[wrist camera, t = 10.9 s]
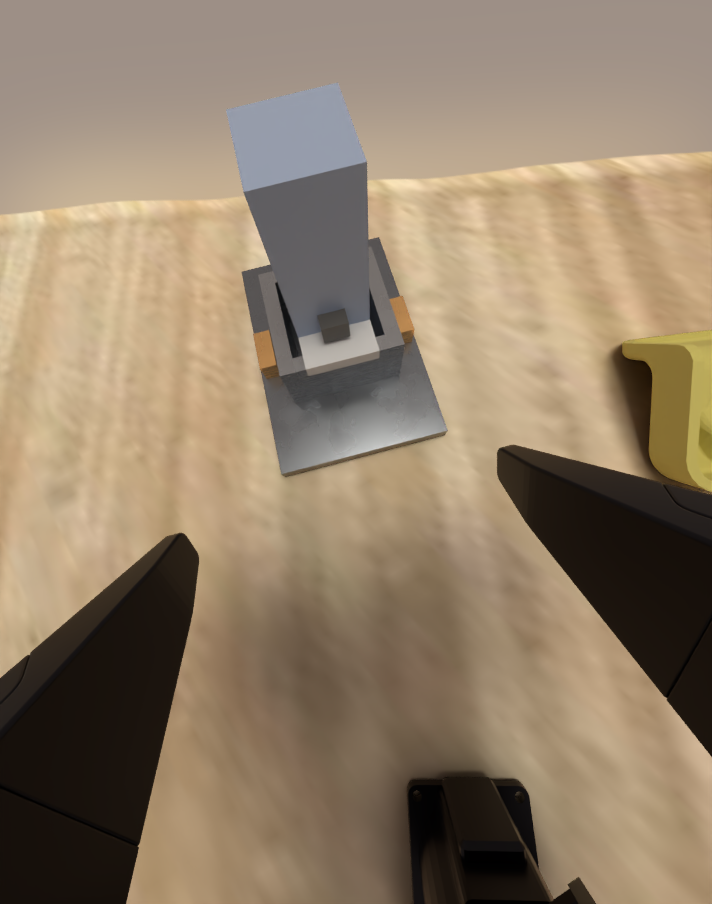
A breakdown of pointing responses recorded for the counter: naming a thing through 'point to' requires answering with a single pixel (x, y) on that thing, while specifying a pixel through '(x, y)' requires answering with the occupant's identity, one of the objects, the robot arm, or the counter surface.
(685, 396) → the plastic component
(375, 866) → the counter surface
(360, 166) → the grey tall block
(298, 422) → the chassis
